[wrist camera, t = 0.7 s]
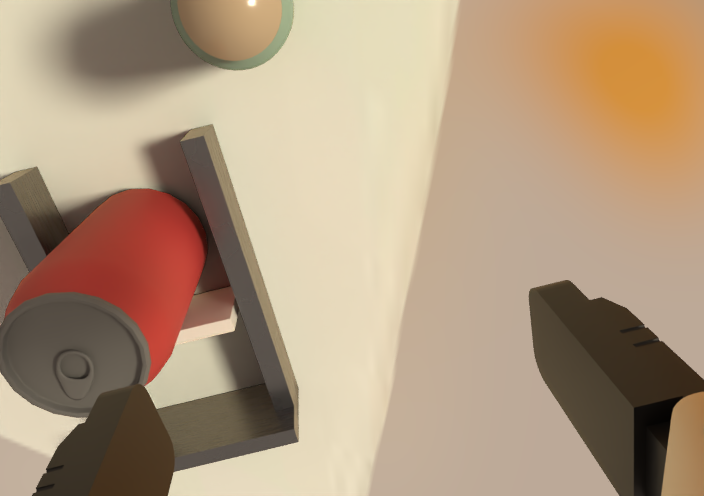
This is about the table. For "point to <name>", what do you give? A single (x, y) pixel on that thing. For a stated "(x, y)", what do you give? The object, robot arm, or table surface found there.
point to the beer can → (104, 303)
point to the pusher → (209, 315)
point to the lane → (250, 293)
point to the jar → (233, 29)
